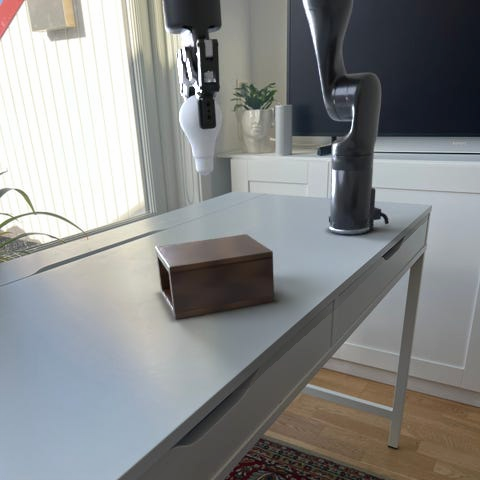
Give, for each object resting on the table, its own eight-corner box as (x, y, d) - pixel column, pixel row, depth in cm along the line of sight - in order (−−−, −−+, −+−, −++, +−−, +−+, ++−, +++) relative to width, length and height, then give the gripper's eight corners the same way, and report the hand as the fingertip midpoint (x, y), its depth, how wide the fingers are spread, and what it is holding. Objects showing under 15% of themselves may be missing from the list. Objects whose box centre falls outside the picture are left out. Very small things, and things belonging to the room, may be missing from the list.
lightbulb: (185, 174, 74) (177, 95, 69) (224, 171, 74) (219, 93, 70) (184, 180, 68) (176, 95, 64) (227, 177, 69) (221, 92, 64)
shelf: (248, 278, 86) (246, 234, 83) (274, 301, 76) (272, 251, 73) (161, 293, 82) (155, 246, 79) (175, 319, 72) (169, 267, 68)
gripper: (235, -25, 56) (242, 127, 63) (204, 0, 69) (213, 125, 76) (172, -26, 54) (187, 131, 61) (152, 0, 67) (166, 128, 74)
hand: (201, 127), depth 69 cm, fingers closed on lightbulb, 6 cm apart
